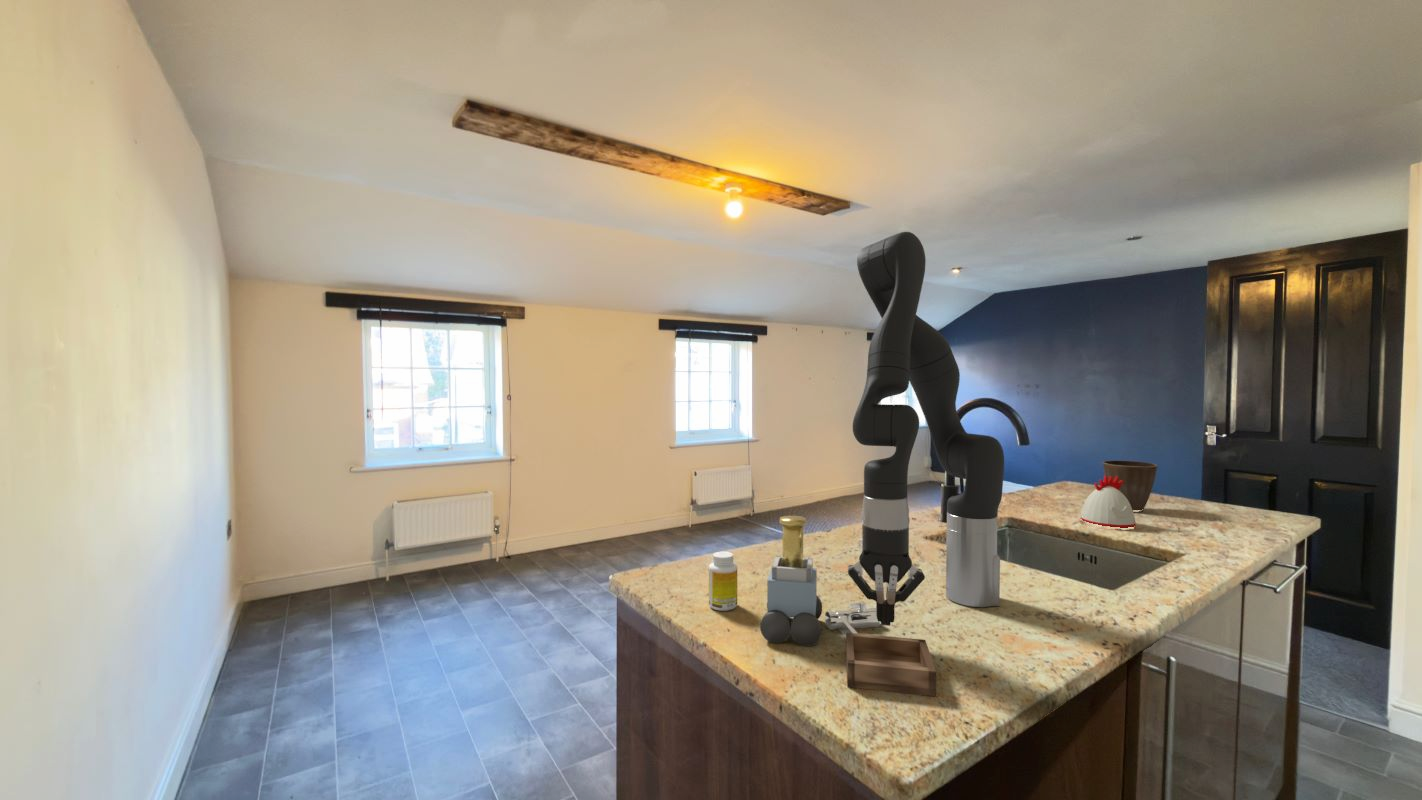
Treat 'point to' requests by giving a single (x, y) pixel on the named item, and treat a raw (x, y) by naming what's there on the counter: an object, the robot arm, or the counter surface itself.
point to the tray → (889, 664)
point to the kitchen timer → (1108, 506)
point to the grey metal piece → (852, 618)
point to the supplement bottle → (723, 582)
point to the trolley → (792, 604)
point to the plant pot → (1133, 480)
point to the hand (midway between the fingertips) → (885, 623)
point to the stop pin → (792, 541)
